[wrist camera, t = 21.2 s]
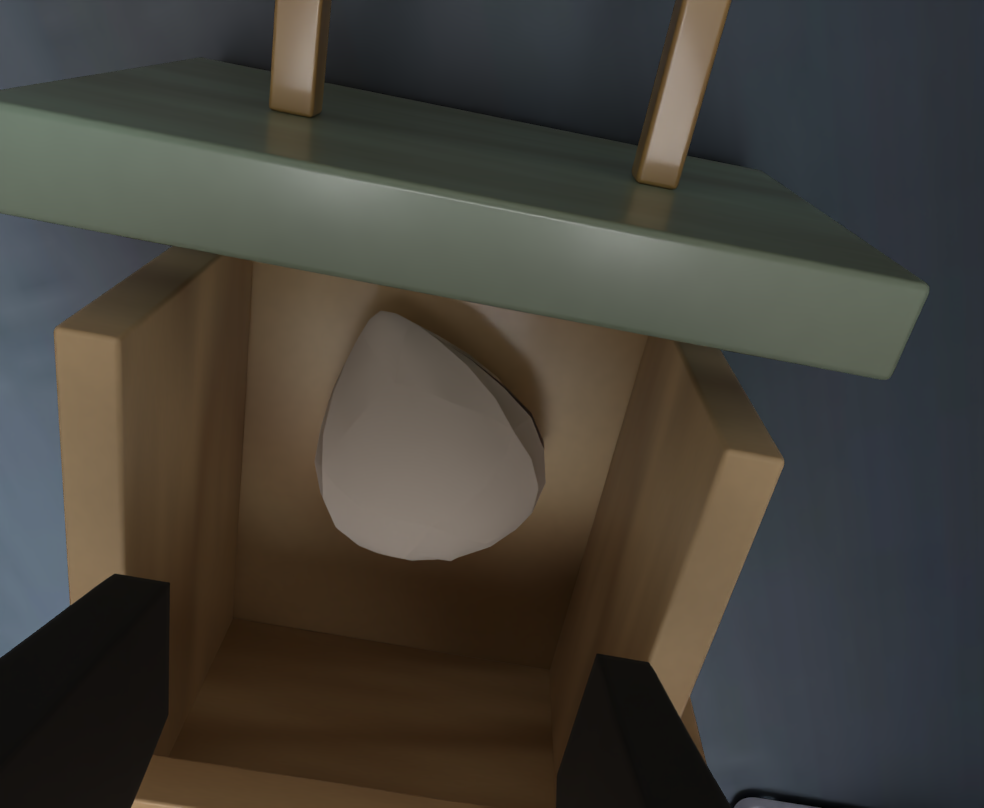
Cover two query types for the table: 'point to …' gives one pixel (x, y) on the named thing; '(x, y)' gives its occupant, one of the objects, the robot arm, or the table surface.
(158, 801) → the cabinet
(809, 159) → the table surface
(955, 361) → the table surface
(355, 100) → the drawer
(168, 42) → the table surface
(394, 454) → the beige pebble
